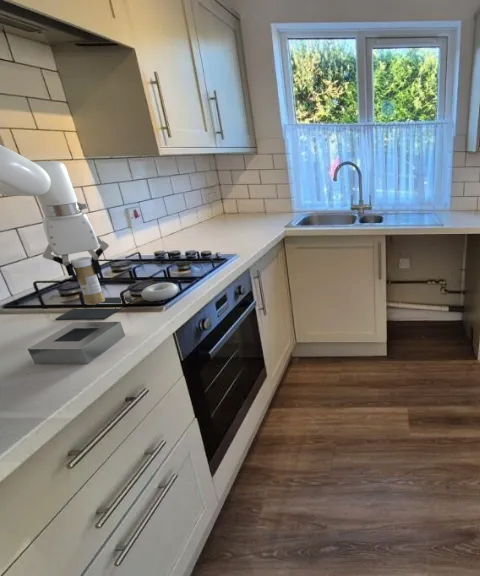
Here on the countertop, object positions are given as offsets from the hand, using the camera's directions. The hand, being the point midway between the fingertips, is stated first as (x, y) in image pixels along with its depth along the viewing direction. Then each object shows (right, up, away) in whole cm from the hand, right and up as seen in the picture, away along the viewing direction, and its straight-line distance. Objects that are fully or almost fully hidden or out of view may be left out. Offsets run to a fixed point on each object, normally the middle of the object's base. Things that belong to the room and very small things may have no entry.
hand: (86, 274), depth 102 cm
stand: (+13, -18, -16) cm, 28 cm away
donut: (+14, -7, +11) cm, 20 cm away
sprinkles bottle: (0, -8, +3) cm, 9 cm away
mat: (0, -10, +4) cm, 11 cm away
